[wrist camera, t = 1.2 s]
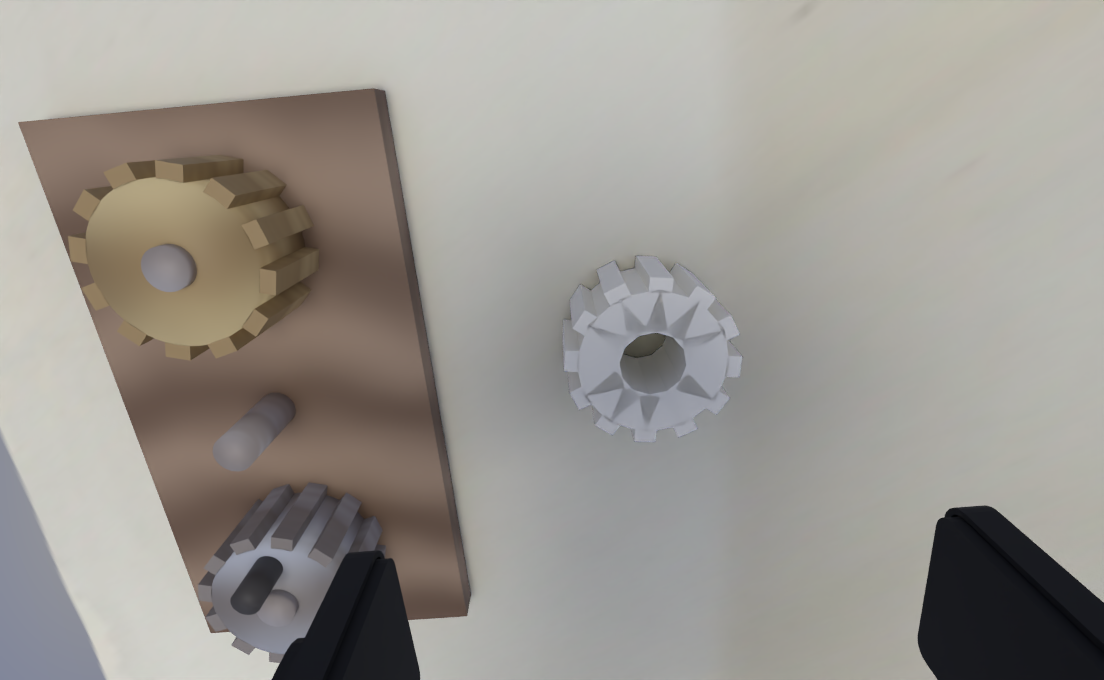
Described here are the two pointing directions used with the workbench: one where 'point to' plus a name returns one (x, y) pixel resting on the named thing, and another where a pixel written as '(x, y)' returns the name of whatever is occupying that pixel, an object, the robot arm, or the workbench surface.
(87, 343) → the workbench surface
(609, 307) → the gear
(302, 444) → the gear board
